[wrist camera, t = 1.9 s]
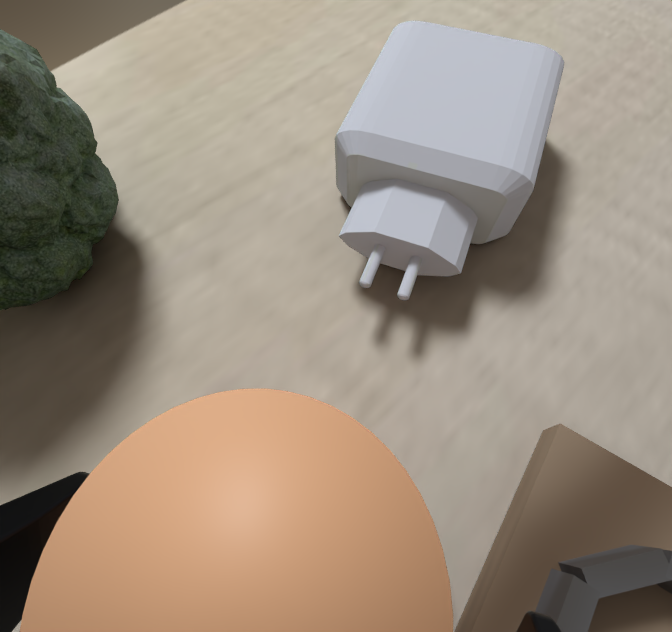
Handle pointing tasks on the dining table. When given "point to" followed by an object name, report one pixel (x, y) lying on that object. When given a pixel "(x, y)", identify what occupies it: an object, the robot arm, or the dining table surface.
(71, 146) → the vegetable
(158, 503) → the gear spindle
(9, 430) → the dining table surface
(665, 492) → the gear board
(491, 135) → the charger
